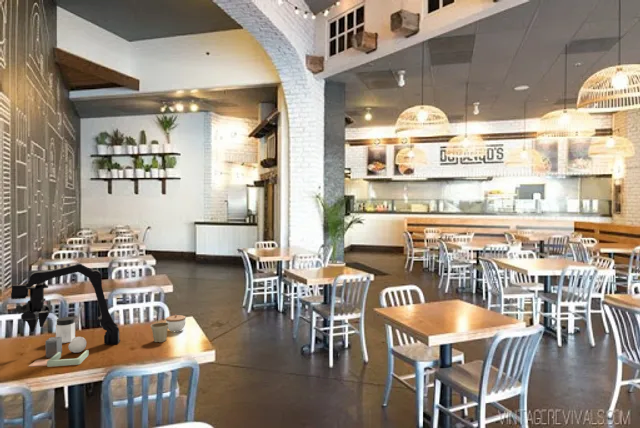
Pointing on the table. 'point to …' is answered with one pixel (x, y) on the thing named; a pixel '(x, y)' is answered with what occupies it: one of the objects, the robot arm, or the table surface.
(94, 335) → the table surface
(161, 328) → the flower pot
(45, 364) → the terracotta mat
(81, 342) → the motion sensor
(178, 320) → the lidded jar
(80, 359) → the frame
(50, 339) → the grey block
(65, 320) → the jar
